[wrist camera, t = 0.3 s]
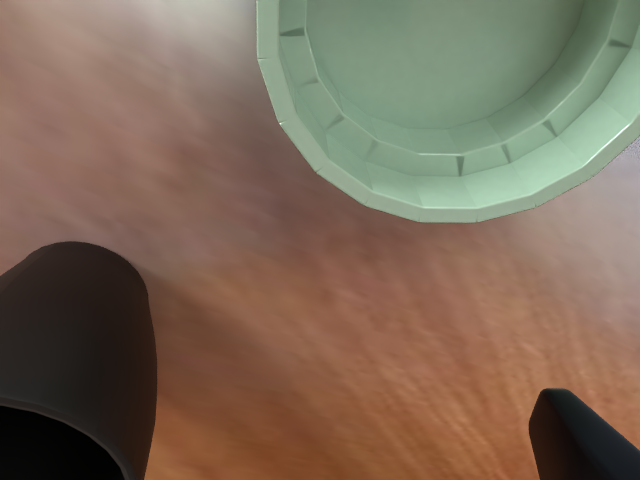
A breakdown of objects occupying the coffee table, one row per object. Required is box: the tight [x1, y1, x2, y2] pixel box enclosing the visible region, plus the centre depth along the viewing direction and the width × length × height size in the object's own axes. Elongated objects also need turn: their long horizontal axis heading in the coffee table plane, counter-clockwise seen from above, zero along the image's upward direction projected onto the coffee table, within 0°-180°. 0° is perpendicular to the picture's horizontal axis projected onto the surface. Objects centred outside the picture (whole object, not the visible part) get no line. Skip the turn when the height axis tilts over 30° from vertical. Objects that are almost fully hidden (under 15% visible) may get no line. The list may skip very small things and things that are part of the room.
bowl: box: [256, 0, 640, 223], centre depth 18 cm, size 12×12×5 cm
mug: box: [0, 242, 157, 480], centre depth 24 cm, size 8×12×10 cm
